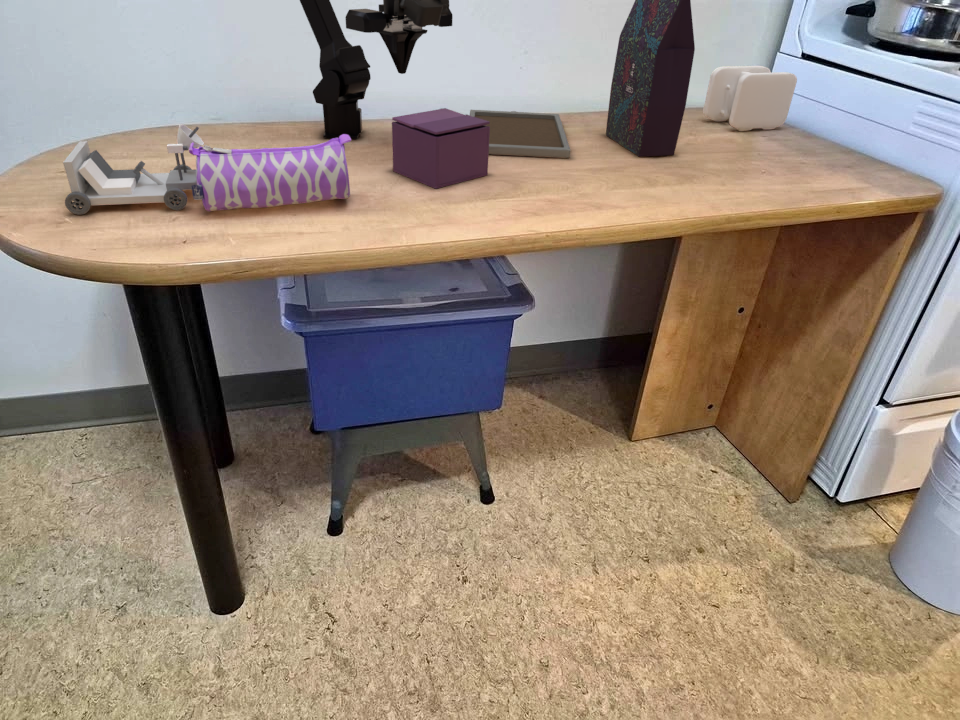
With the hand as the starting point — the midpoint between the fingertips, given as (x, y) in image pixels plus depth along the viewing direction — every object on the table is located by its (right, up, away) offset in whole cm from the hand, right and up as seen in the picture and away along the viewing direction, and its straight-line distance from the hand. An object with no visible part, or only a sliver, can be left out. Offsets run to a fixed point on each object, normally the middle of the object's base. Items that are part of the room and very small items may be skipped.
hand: (401, 73), depth 119 cm
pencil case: (-16, -27, -19) cm, 37 cm away
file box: (+7, -19, -4) cm, 20 cm away
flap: (+5, -10, -7) cm, 14 cm away
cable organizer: (+72, +2, +34) cm, 79 cm away
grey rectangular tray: (+21, -5, +19) cm, 28 cm away
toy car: (-35, -27, -19) cm, 48 cm away
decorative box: (+45, -8, +16) cm, 48 cm away
